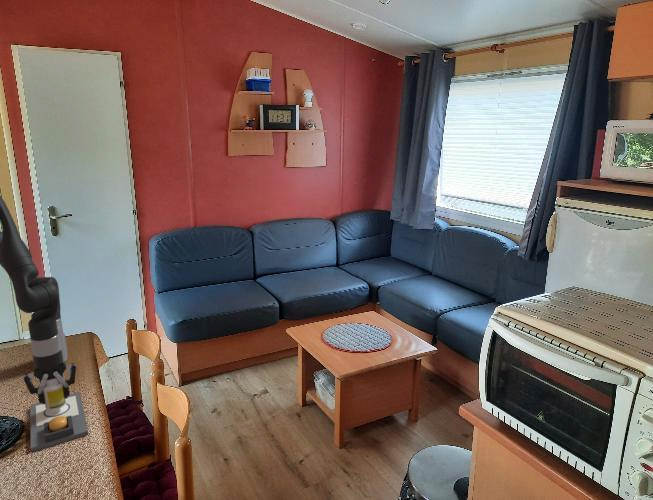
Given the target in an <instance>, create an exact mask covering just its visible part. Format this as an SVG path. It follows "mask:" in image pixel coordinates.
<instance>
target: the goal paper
mask: <svg viewBox="0 0 653 500" xmlns="http://www.w3.org/2000/svg"><path fill="white" fill-rule="evenodd" d="M65 401H66V403H65V405H64V406H63V407H61V408H59V409H57V410H47V409H46V407H45V404H43V405H38V406H36V427H38V426H41V425H44V423H46V422H49V421H50V420H52V419H53V418H56V417H59V416H64V417H67V416H71V417H73V416H77V415H79V413H78V407H77V402H76V396H72V397H68V398H66V399H65Z"/></svg>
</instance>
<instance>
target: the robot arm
mask: <svg viewBox="0 0 653 500" xmlns="http://www.w3.org/2000/svg"><path fill="white" fill-rule="evenodd" d="M0 223H1V226H2V231H1V230H0V266H1V267H2V268H3V269H4V271H5V272H6V273H7V275H8V277H9V279H10V280H11V281H10V282H11V283H12V288H13V291H14V292H13V293H14V296H15V302H16V305H17V307H18V309H19V310H20V311H21V312H24V313H26V314H31V313H32V314H31V316H30V317H31V318H30V319H29V321H28V324H27V325H28V331H29V332H28V333H29V337H30V348H31V350H30V351H31V354H32V361H33V366H34V370H33V372H31V373H24V374H23V382H24V383H25V386H26V388H27V391H28V392H29V394H30V395H34V394H36V395H37V397H38V403H42V405H43V404H45V401H44V395H43V388H44V386H45V383H46V380H49V379H53V378H57V379H58V380H59V382H60V383H61V384H62V385H63V389H64V395H65V399H66V398H68V397H67V396H69V395H70V394H71V393H70V386H71V385H74V384H75V383H76V372H77V364H76V363H75V362H72V363H70V364H66V363H65V362H67V361H68V356H69V353H68V346H67V339H66V334H65V333H64V328H63V321H62V314H61V300H60V290H59V289H60V287H59V283H58V281H57V279H56V278H55V277H53V276H44V277H43V276H40V277H39V274H40V273H39V270H38V267H37V266H36V264H35V262H34V260H33V256H32V253H31V250H30V248H29V247H28V246H27V245H26V243H25V241H24V240H23V239H22V238H21V234H20V233H19V230H18V227H17V224H16V223H15V221H14V219H13V216H12V214H11V211H10V210H9V207H8V206H7V204H6V202H5V200H4V199H3V197H2V195H0ZM66 370H68V373H69V374H70V375H69V379H66V377H65V376H64V373H65V372H66ZM34 377H35V378H37V380H39V383H38V384H37V385H38V386H37V387H35V386H34V383H33V381H34Z"/></svg>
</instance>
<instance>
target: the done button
mask: <svg viewBox="0 0 653 500" xmlns="http://www.w3.org/2000/svg"><path fill="white" fill-rule="evenodd" d="M66 427H67V419H66V417H64V416H59V417H56V418H53V419H52V420H50V421H49V428H50V431H51V432H54V431H58V430H61V429H65V428H66Z"/></svg>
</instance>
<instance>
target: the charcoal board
mask: <svg viewBox="0 0 653 500" xmlns="http://www.w3.org/2000/svg"><path fill="white" fill-rule="evenodd" d="M72 396H76V402H77V407H78V413H79V415H77V416H73V417H71V416H67V417H66V419H67V427H66V428H65V429H61V430H58V431H54V432H51V431H50V428H49V422H46V423H44V425H41V426H38V427H36V406H38V405H42V403H39V402H35V403H32V404H30V405H29V406H30V407H29V408H30V409H29V412H30V413H29V414H30V415H29V416H30V422H29V423H30V425H29V426H30V451H31V453H33V452H35V451H36V452H37V451H39V450H43V449H45V448H49V447H51V446H56V445H58V444H62V443H66V442H68V441H72V440H74V439H78V438H81V437H85V436H88V434H89V429H88V424H87V419H86V414H85V410H84V409H85V408H84V405H83V400H82V395H81V391H79V392H78V391H77V392H75V393H72V394H71V393H70V395H69V396H67V397H72Z"/></svg>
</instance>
